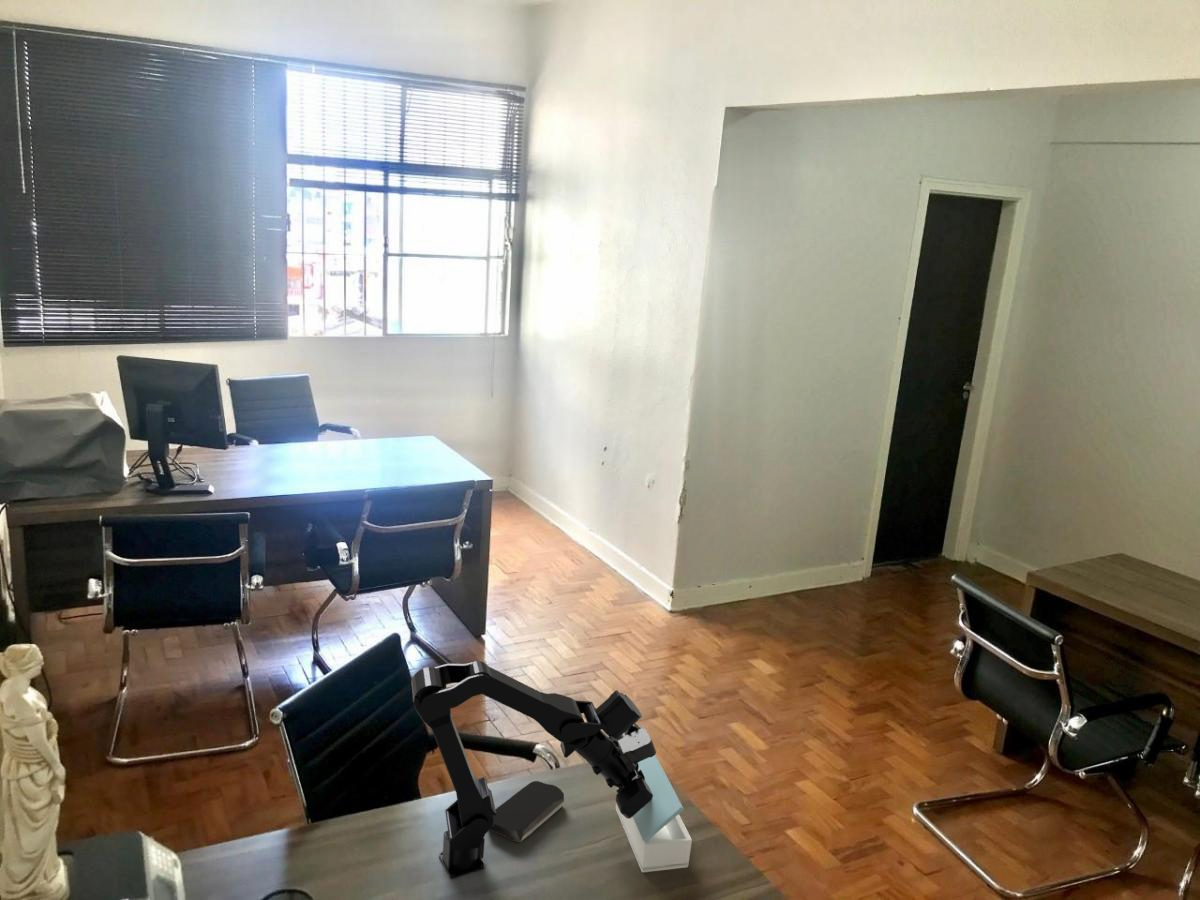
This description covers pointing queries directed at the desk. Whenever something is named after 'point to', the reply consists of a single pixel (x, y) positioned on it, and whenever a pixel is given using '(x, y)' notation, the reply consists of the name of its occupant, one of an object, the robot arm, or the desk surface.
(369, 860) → the desk surface
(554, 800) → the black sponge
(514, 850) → the desk surface
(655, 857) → the white lidded box
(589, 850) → the desk surface
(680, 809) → the cover
